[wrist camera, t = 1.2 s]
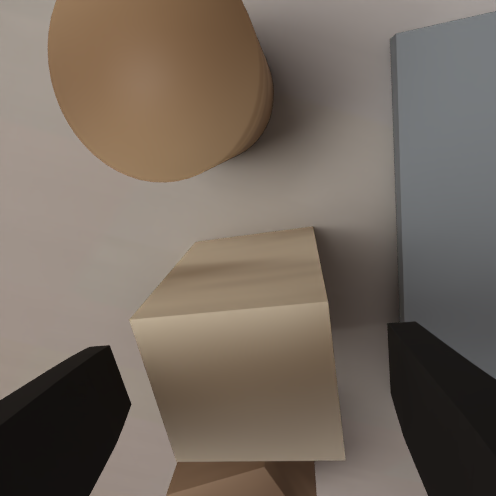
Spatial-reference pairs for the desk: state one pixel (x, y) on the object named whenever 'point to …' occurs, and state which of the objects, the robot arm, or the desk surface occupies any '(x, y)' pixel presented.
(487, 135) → the mat
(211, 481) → the walnut cube
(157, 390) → the maple block
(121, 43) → the oak cylinder
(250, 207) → the desk surface
